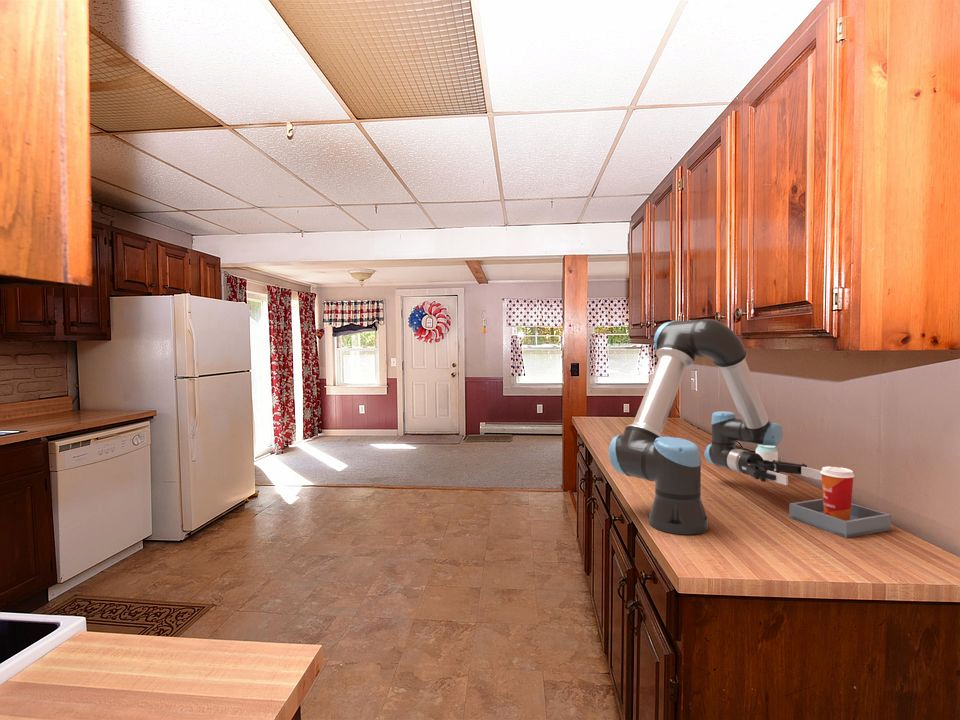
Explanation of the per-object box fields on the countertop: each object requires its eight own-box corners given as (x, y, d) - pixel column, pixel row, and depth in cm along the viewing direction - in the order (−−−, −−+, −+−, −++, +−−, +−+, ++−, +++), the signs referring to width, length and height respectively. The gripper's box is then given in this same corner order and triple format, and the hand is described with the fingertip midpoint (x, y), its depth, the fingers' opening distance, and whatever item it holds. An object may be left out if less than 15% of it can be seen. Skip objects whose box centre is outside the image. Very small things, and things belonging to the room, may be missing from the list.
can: (771, 481, 175) (770, 448, 175) (751, 477, 181) (751, 445, 181) (782, 478, 179) (781, 446, 178) (762, 474, 185) (762, 443, 185)
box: (846, 538, 124) (846, 522, 124) (789, 517, 139) (789, 503, 139) (891, 529, 128) (891, 514, 128) (831, 510, 144) (831, 497, 144)
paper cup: (818, 513, 139) (818, 464, 139) (852, 518, 135) (852, 467, 135) (821, 522, 132) (821, 470, 132) (856, 527, 129) (857, 474, 128)
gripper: (775, 470, 167) (836, 486, 146) (715, 477, 159) (771, 495, 139) (774, 448, 167) (836, 461, 146) (715, 454, 159) (771, 469, 139)
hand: (805, 478), depth 143 cm, fingers open, 13 cm apart
